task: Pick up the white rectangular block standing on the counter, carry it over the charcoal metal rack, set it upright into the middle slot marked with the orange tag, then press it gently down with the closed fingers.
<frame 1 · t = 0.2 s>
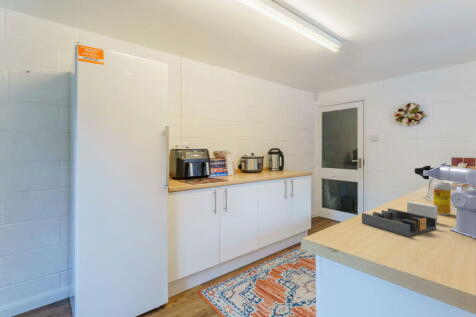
hand: (423, 170, 104), 21 cm above the counter, tool horizontal, fingers open, 7 cm apart
rack: (397, 225, 94), on the counter
white rectangular block: (421, 220, 102), on the counter
beer can: (441, 214, 110), on the counter
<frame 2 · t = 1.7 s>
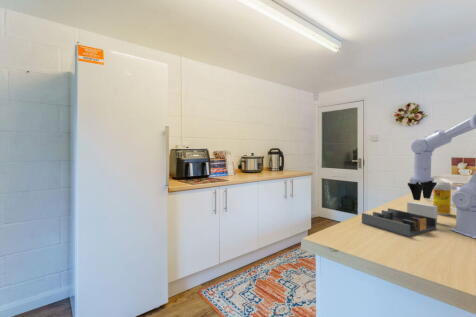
hand: (421, 199, 101), 9 cm above the counter, tool pointing down, fingers open, 7 cm apart
nothing on the counter moved.
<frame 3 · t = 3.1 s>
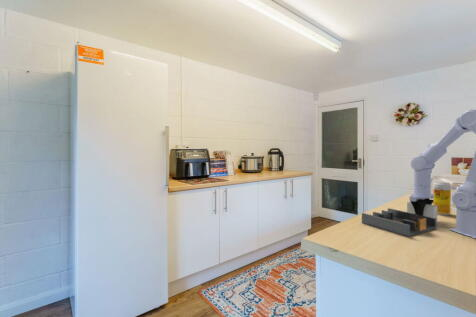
hand: (421, 216, 102), 2 cm above the counter, tool pointing down, fingers closed on white rectangular block, 3 cm apart
white rectangular block: (421, 219, 102), on the counter, touching gripper
everything else where it was.
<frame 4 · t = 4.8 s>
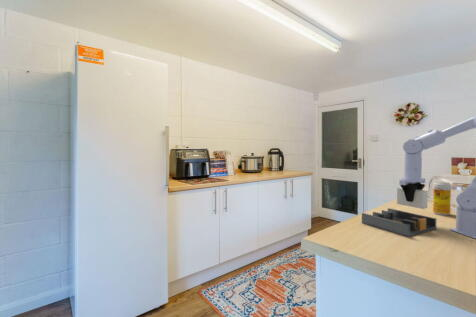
hand: (412, 201, 98), 9 cm above the counter, tool pointing down, fingers closed on white rectangular block, 3 cm apart
white rectangular block: (411, 205, 99), point 7 cm above the counter, touching gripper
everything else where it was.
when the fingers open (4 cm above the counter, at t = 6.9 s): white rectangular block stays where it is, resting on rack.
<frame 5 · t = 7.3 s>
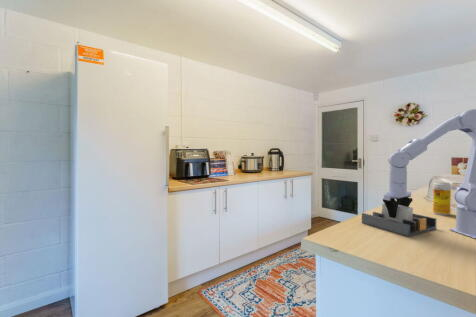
hand: (397, 216, 94), 4 cm above the counter, tool pointing down, fingers open, 6 cm apart
white rectangular block: (396, 222, 95), point 1 cm above the counter, touching rack
everything else where it was.
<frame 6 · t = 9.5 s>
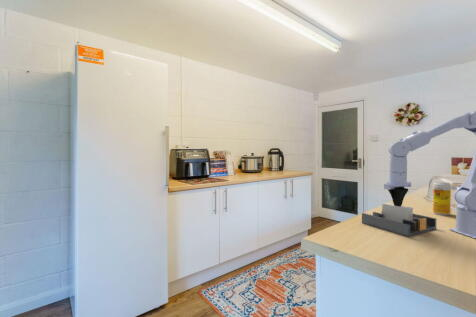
hand: (397, 205, 94), 8 cm above the counter, tool pointing down, fingers closed, pressing on white rectangular block
white rectangular block: (396, 222, 95), point 1 cm above the counter, touching gripper, rack
everything else where it was.
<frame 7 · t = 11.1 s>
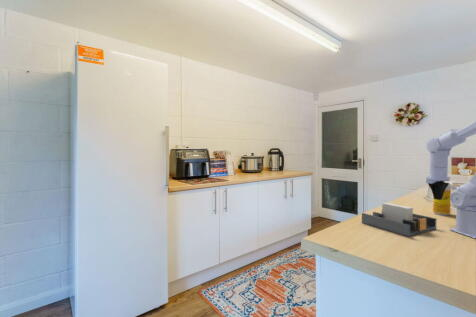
hand: (437, 199, 99), 9 cm above the counter, tool pointing down, fingers closed
white rectangular block: (396, 222, 95), point 1 cm above the counter, touching rack
everything else where it was.
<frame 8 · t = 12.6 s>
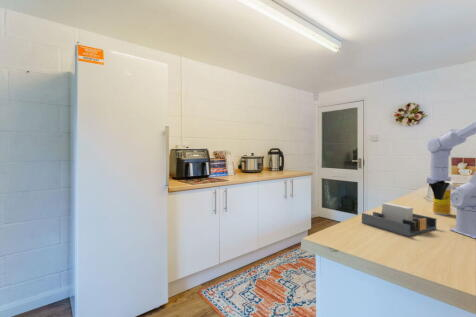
hand: (438, 199, 99), 9 cm above the counter, tool pointing down, fingers closed
nothing on the counter moved.
at the end: white rectangular block 0.3 cm off-centre on the rack, point 1.1 cm above the rack's base; white rectangular block tilted 0°; the gripper is holding nothing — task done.
